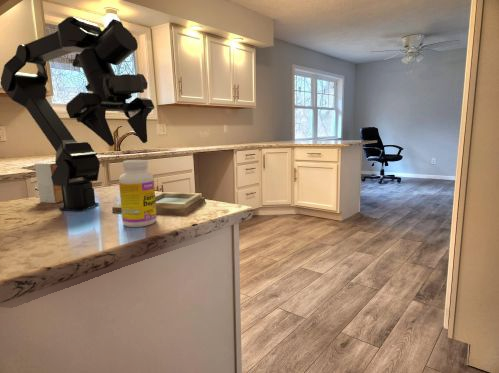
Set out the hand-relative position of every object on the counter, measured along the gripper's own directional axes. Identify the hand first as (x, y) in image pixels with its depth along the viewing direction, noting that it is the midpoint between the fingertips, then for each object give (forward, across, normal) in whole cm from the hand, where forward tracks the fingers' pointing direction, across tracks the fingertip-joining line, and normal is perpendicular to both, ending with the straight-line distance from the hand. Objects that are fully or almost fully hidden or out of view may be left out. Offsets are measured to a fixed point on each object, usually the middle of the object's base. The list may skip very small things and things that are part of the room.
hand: (130, 143), depth 68 cm
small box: (+1, +4, +36) cm, 36 cm away
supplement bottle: (+17, -4, +2) cm, 17 cm away
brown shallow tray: (+14, +8, +7) cm, 18 cm away
